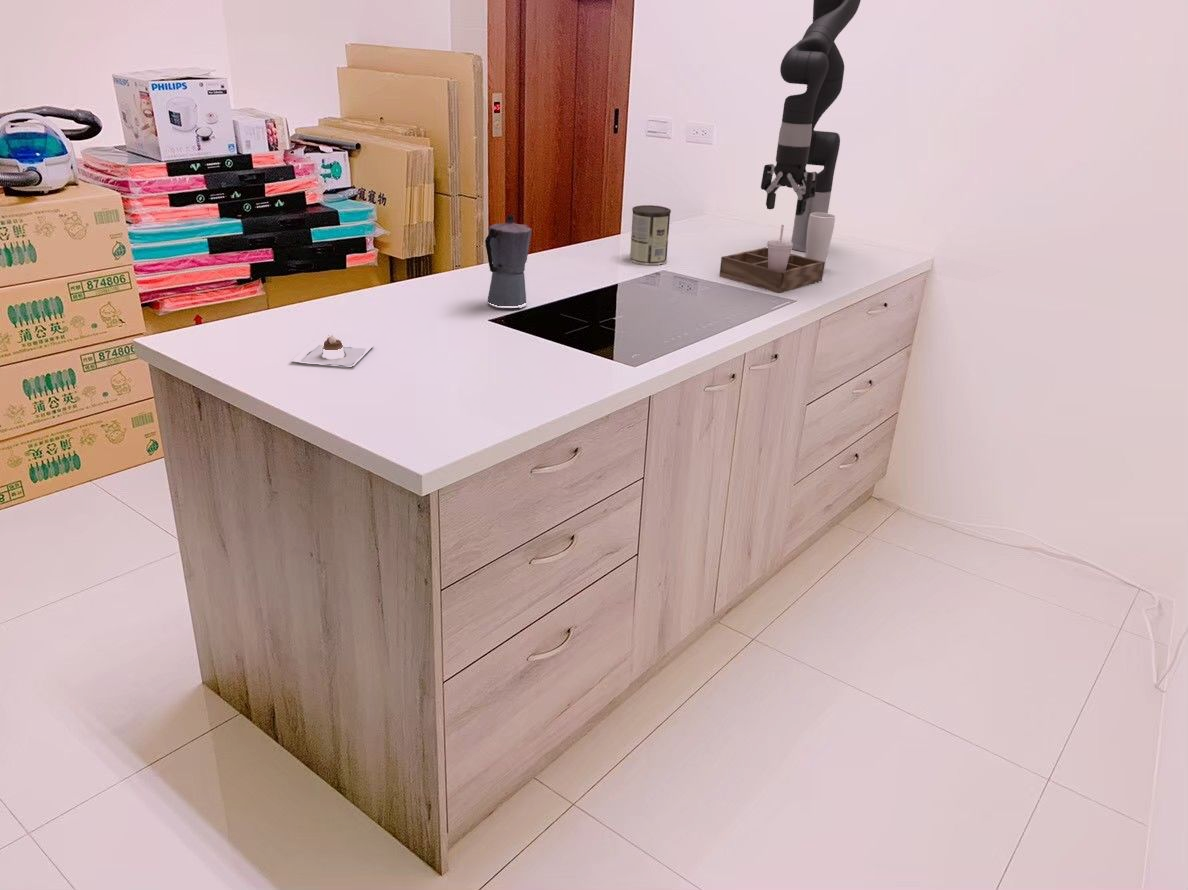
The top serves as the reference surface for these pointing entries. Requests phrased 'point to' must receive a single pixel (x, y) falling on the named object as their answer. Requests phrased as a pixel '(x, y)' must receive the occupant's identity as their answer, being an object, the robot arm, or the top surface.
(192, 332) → the top surface
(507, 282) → the moka pot
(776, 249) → the smoothie
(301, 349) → the top surface
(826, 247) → the drinking glass
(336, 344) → the dessert
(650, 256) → the coffee can
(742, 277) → the bottle crate
